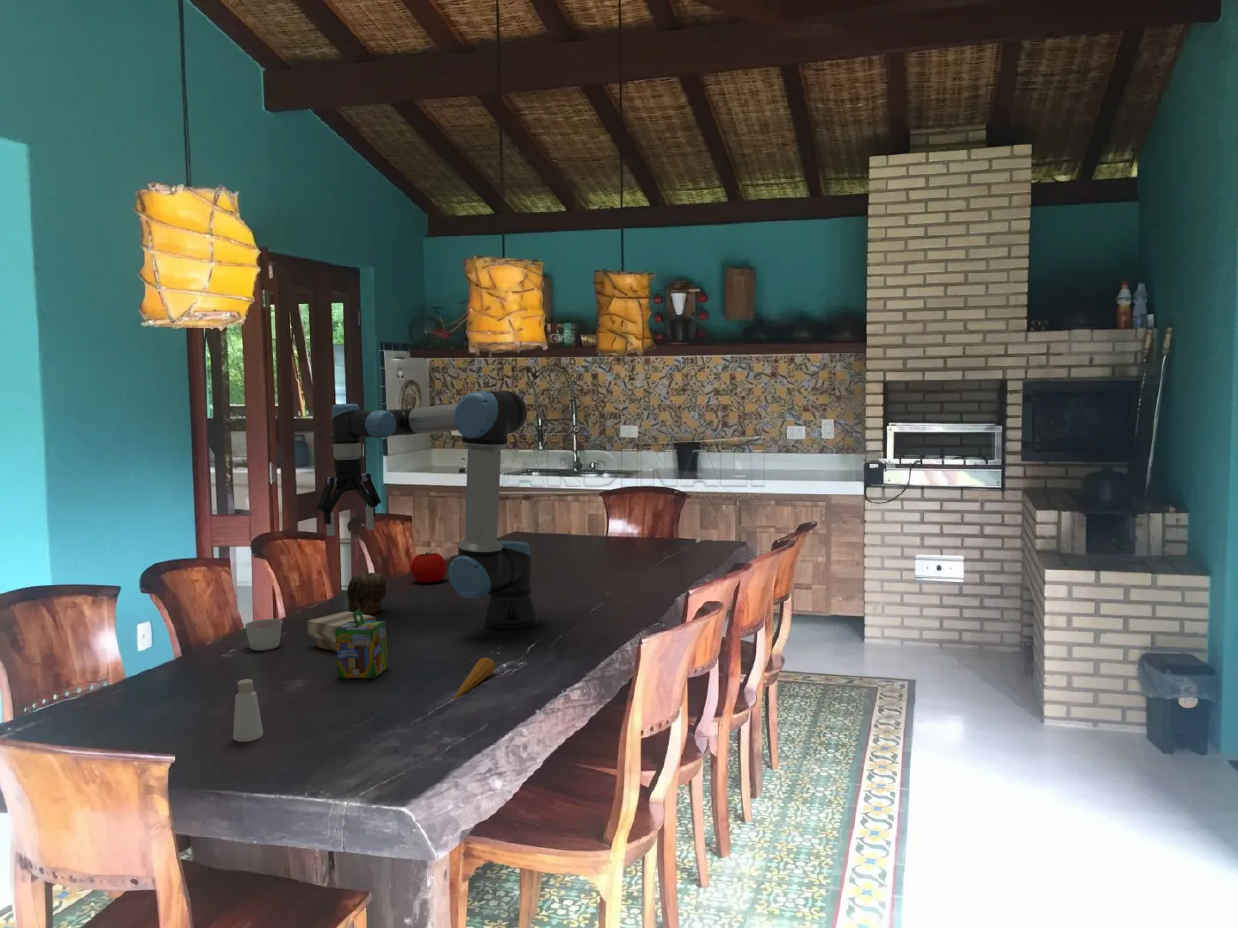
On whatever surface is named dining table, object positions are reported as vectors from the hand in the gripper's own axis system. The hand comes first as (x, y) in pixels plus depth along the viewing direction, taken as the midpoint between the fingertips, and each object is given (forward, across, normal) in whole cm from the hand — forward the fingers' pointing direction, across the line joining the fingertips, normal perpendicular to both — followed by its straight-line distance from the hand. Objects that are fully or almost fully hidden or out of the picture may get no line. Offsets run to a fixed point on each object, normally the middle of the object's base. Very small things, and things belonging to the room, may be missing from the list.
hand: (351, 532), depth 276 cm
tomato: (+25, -46, -20) cm, 56 cm away
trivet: (+25, +20, +22) cm, 39 cm away
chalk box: (+25, +32, +46) cm, 62 cm away
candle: (+25, +33, +6) cm, 42 cm away
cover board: (+22, +20, +22) cm, 37 cm away
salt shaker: (+25, +71, +61) cm, 97 cm away
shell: (+25, -6, -2) cm, 26 cm away
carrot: (+26, +25, +74) cm, 82 cm away
